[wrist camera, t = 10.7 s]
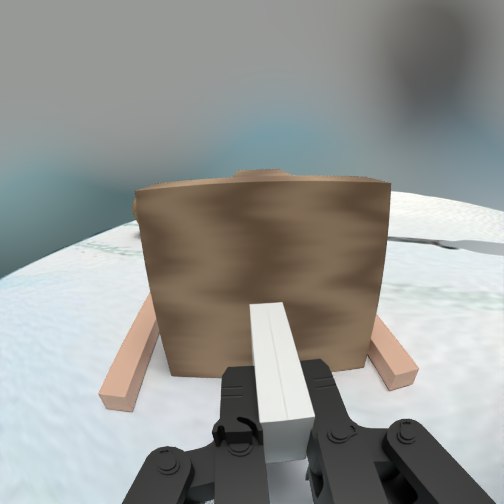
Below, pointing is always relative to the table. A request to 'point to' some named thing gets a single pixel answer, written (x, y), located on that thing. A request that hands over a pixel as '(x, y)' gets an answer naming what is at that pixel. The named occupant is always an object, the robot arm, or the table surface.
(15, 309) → the table surface
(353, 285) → the tee block
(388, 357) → the dock
